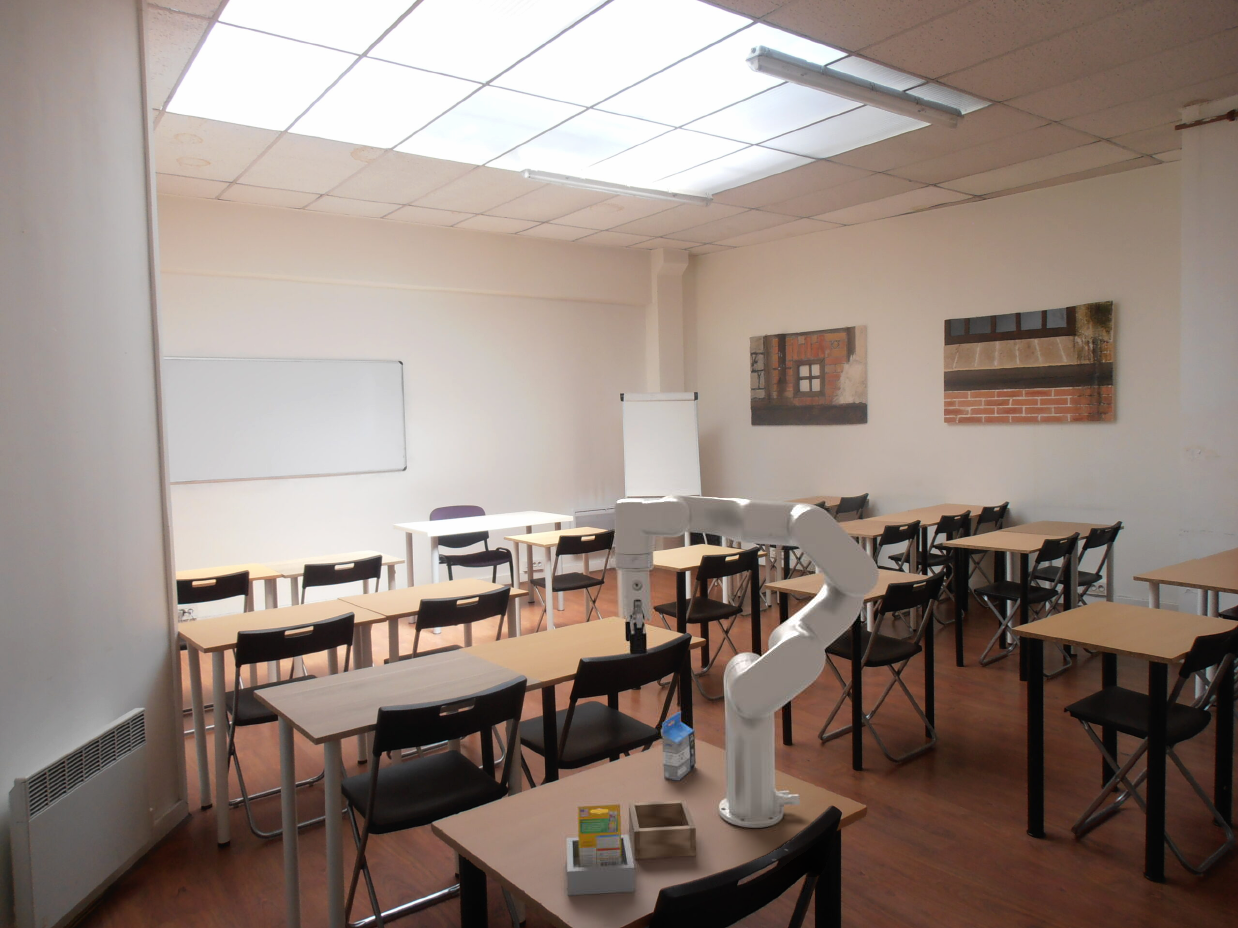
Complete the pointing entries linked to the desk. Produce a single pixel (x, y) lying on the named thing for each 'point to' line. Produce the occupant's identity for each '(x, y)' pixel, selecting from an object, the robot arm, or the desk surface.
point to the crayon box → (599, 836)
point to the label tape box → (677, 748)
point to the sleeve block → (661, 829)
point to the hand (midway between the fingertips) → (635, 646)
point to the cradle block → (599, 872)
